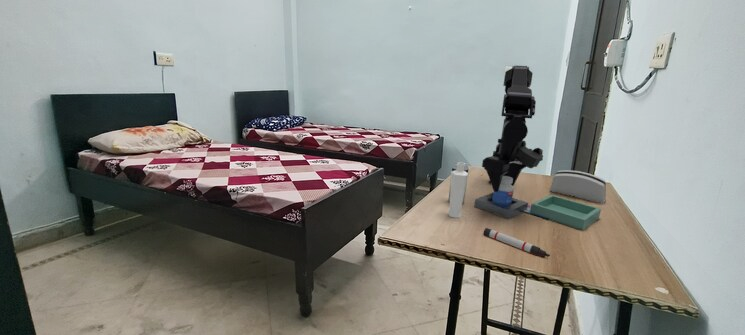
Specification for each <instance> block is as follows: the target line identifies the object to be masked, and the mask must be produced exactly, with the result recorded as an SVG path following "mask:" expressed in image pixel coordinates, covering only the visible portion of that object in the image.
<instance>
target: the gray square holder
mask: <svg viewBox="0 0 745 335" xmlns="http://www.w3.org/2000/svg"><path fill="white" fill-rule="evenodd" d="M492 198H493V192H491V193H488V194H486V195H482V196H480V197H478V198H475V200H474V208H476V209H480V210H482V211H485V212H488V213H490V214H493V215H496V216H499V217H501V218H505V219H508V220H510V219H512V218H515V217H516V216H519V215H521V214H524V213H523V212H524V211H525V210H527V208H528V205H529V202H528V201H524V200H521V199H518V198H515V197H512V202H511V205H510V206H507V207H506V206H503V205H500V204H497V203H494V202H492Z"/></svg>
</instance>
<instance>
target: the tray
mask: <svg viewBox="0 0 745 335" xmlns="http://www.w3.org/2000/svg"><path fill="white" fill-rule="evenodd" d="M530 206H531V209H530V213H533V214H536V215H539V216H542V217H545V218H548V219H549V220H548V221H552V222H555V223H558V224H561V225H565V226H568V227H569V228H574V229H576V230H580V231H584V230H585V229H586V228H588V227H589V226H591V225H592V224H593V223H594V222H597V221H598V219H600V216H601V215H600V214H601V211H602V208H601V207H597V206H593V205H590V204H587V203H582V202H580V201H576V200H571V199H569V198H565V197H562V196H557V195H554V194H549V195H548V196H545V197H543V198H541V199H539V200H538V199H537V201H535V202H532V203H531V205H530Z"/></svg>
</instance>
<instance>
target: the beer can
mask: <svg viewBox="0 0 745 335" xmlns="http://www.w3.org/2000/svg"><path fill="white" fill-rule="evenodd" d="M457 163H458V162H456V163H454V164H453V165H452V167H451V172H452V171H455V170H457ZM464 171H466V172H467V173H468V174H469V167H468V164H466V163H465V166H464ZM467 183H468V182H467ZM467 183H466V186H467ZM450 188H451V181H450V184H449V189H450ZM448 191H449V194H448V202H450V190H448ZM466 191H467V187H466V188H465V193H464V198H463V203H462V204H464V203H465V199H466Z"/></svg>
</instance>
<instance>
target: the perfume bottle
mask: <svg viewBox="0 0 745 335" xmlns="http://www.w3.org/2000/svg"><path fill="white" fill-rule="evenodd" d="M456 163H457V170H455V171H452V170H451V171H450V182H451V188H450V187H449V191H450V201H449V209H448V212H447V215H448V216H449V217H450V218H457V219H458V218H459V219H460V218H461V217H462V207H463V204H464V203H463V198H464V193H465V194H466V192H465V188H466V189H467V185H466V183H468V177H469V172H468V173H467V172H466V171H464V166H465V164H466V163H465V162H460V161H459V162H456Z"/></svg>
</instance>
